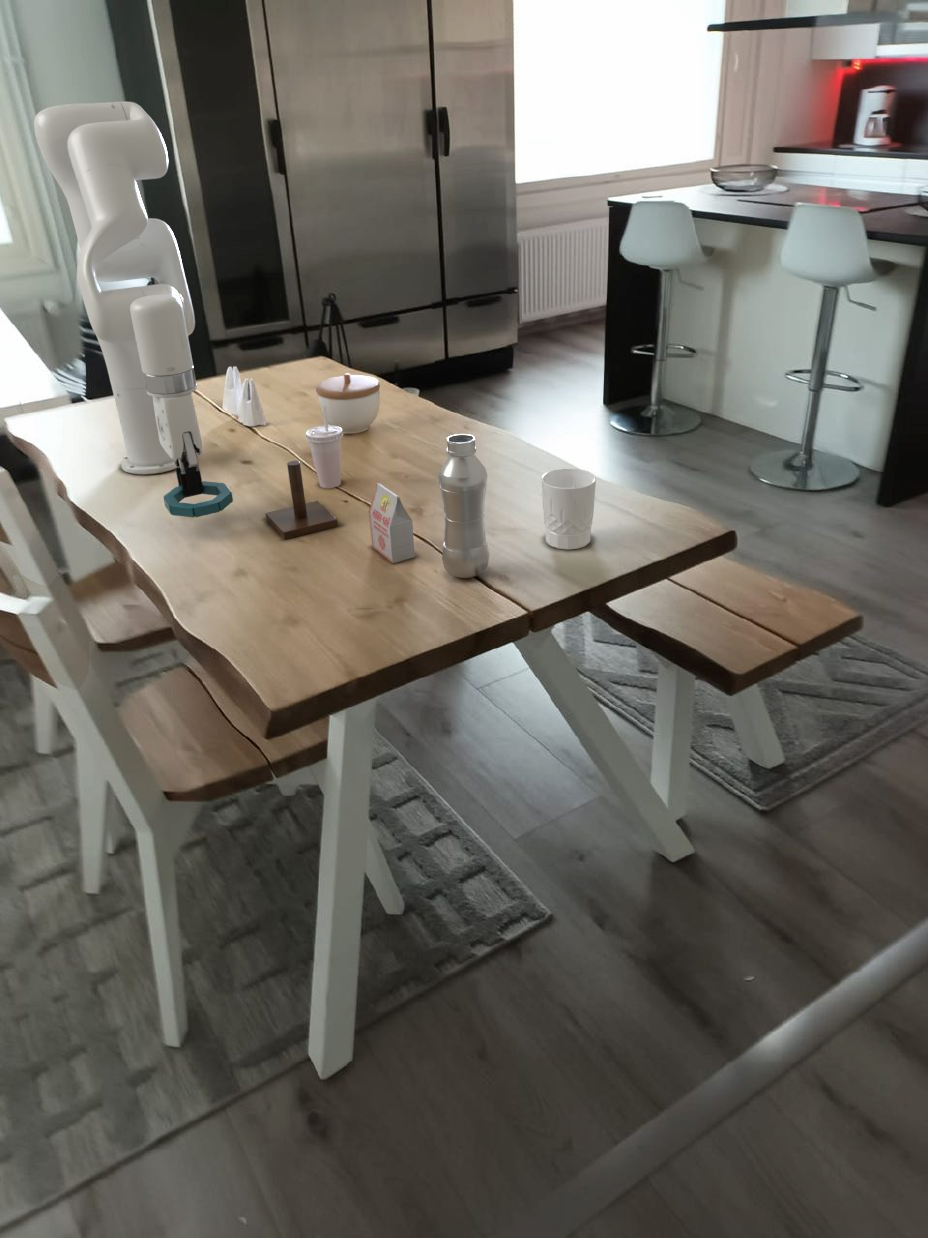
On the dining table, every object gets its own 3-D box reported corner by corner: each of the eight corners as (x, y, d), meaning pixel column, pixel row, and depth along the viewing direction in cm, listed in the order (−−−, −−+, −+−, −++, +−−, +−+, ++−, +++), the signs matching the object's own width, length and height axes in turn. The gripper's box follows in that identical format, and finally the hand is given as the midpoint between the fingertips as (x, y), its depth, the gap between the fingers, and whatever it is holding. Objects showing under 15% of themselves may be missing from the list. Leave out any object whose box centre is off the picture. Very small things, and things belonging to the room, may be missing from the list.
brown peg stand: (266, 519, 155) (256, 460, 149) (318, 507, 158) (310, 448, 153) (284, 539, 148) (275, 477, 143) (338, 525, 151) (331, 465, 146)
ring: (160, 499, 153) (158, 490, 152) (221, 485, 157) (219, 476, 156) (175, 522, 146) (173, 512, 145) (238, 507, 150) (237, 498, 149)
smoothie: (341, 491, 164) (333, 412, 156) (306, 490, 165) (296, 411, 158) (353, 477, 169) (344, 400, 162) (318, 476, 170) (309, 400, 163)
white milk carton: (393, 540, 145) (388, 479, 140) (414, 556, 140) (410, 494, 135) (372, 547, 144) (366, 485, 139) (392, 563, 139) (387, 500, 134)
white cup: (580, 555, 138) (581, 492, 133) (532, 545, 142) (532, 482, 137) (602, 535, 144) (605, 473, 139) (556, 525, 148) (557, 464, 143)
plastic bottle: (441, 564, 138) (433, 432, 128) (487, 560, 138) (483, 428, 128) (444, 585, 132) (436, 448, 122) (492, 581, 133) (488, 445, 123)
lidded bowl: (395, 423, 194) (391, 369, 189) (357, 442, 185) (351, 386, 180) (347, 414, 200) (341, 362, 195) (308, 432, 191) (301, 378, 186)
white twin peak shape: (222, 416, 203) (213, 365, 197) (240, 412, 205) (231, 360, 200) (250, 429, 195) (241, 375, 189) (268, 424, 197) (259, 371, 191)
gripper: (134, 371, 149) (157, 480, 159) (157, 399, 137) (181, 514, 147) (181, 364, 152) (201, 471, 162) (208, 390, 140) (228, 503, 150)
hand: (191, 491), depth 154 cm, fingers closed on ring, 1 cm apart
